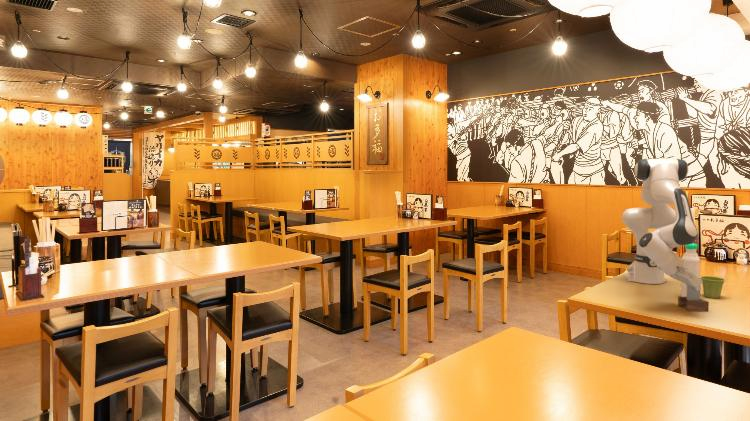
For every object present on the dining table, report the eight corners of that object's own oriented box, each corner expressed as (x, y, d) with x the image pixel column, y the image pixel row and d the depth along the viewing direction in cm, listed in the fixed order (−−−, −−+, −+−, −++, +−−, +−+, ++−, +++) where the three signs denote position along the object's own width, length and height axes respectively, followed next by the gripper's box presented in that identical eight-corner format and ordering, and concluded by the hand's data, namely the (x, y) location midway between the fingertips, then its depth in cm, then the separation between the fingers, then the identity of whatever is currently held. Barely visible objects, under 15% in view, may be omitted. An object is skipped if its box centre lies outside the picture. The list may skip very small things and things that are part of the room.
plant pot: (720, 294, 224) (721, 276, 223) (727, 300, 215) (728, 281, 214) (697, 293, 227) (697, 275, 226) (703, 298, 218) (704, 279, 217)
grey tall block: (686, 299, 204) (687, 276, 203) (695, 299, 204) (696, 276, 203) (691, 301, 201) (692, 278, 200) (699, 301, 200) (700, 278, 200)
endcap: (677, 305, 207) (678, 296, 207) (697, 305, 206) (697, 296, 206) (688, 311, 199) (688, 301, 199) (708, 311, 198) (708, 301, 198)
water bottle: (701, 299, 216) (703, 245, 214) (684, 299, 217) (686, 244, 215) (694, 295, 223) (696, 242, 220) (677, 295, 224) (679, 242, 222)
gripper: (691, 264, 191) (716, 288, 191) (665, 255, 212) (687, 277, 211) (679, 275, 192) (703, 299, 192) (654, 265, 212) (676, 287, 212)
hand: (695, 288), depth 202 cm, fingers closed on grey tall block, 3 cm apart
